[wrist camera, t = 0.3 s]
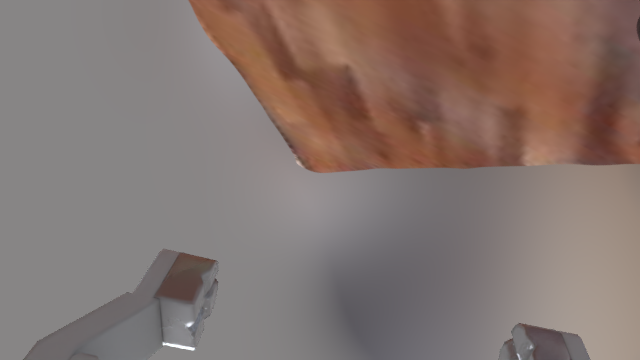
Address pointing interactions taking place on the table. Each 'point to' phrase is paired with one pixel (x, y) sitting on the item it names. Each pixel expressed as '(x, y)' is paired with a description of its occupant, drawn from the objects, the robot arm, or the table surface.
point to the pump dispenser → (638, 28)
